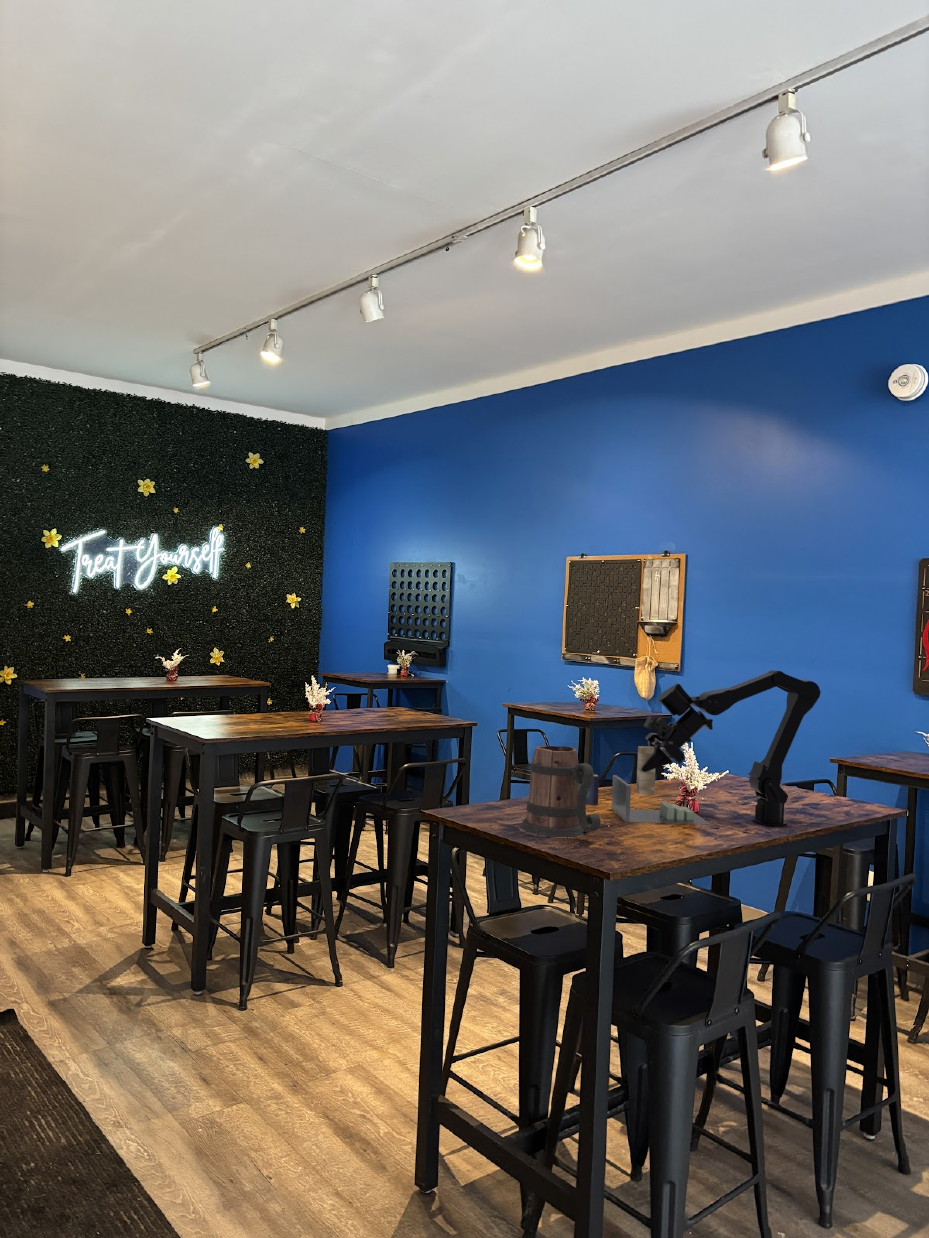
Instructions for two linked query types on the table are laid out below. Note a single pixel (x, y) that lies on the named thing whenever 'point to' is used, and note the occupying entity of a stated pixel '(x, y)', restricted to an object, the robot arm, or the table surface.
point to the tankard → (559, 794)
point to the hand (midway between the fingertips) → (641, 769)
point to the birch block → (645, 778)
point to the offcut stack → (675, 812)
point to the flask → (592, 791)
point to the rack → (622, 808)
